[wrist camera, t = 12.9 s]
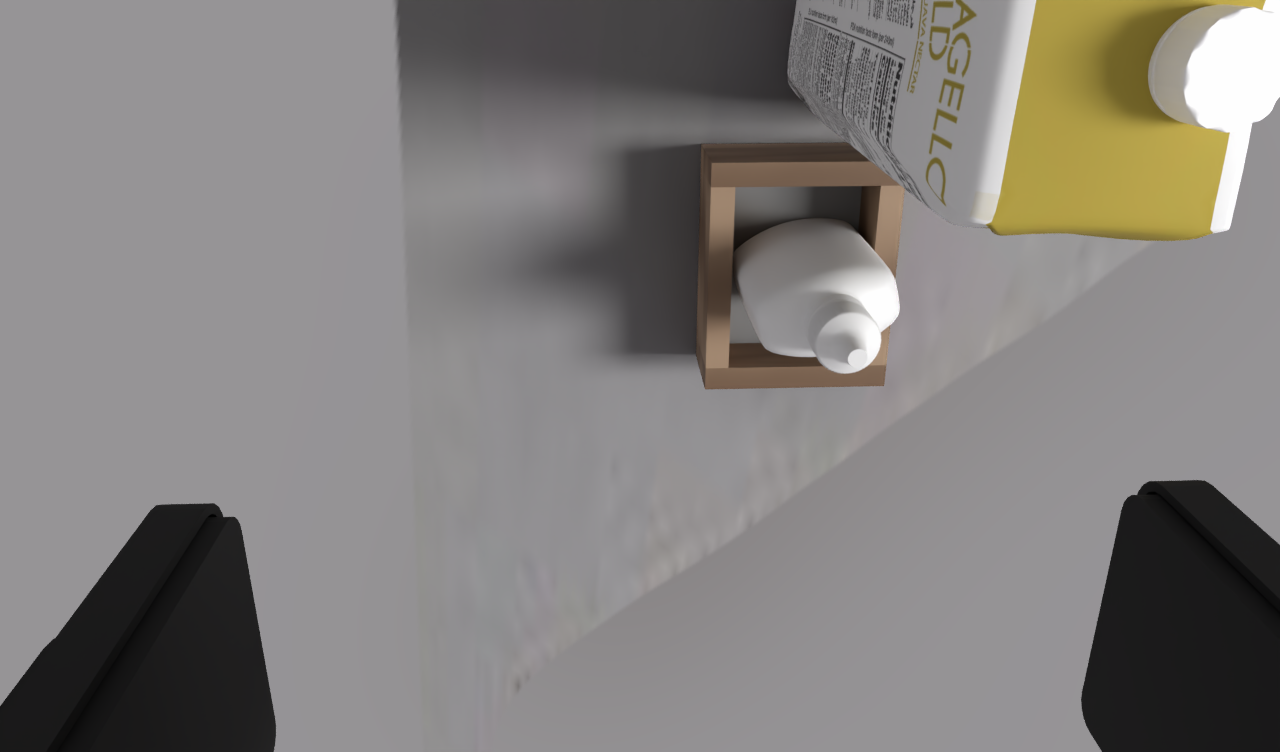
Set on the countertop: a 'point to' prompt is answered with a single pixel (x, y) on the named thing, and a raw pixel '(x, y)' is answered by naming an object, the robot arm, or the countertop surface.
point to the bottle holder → (760, 199)
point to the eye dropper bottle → (816, 292)
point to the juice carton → (1048, 106)
